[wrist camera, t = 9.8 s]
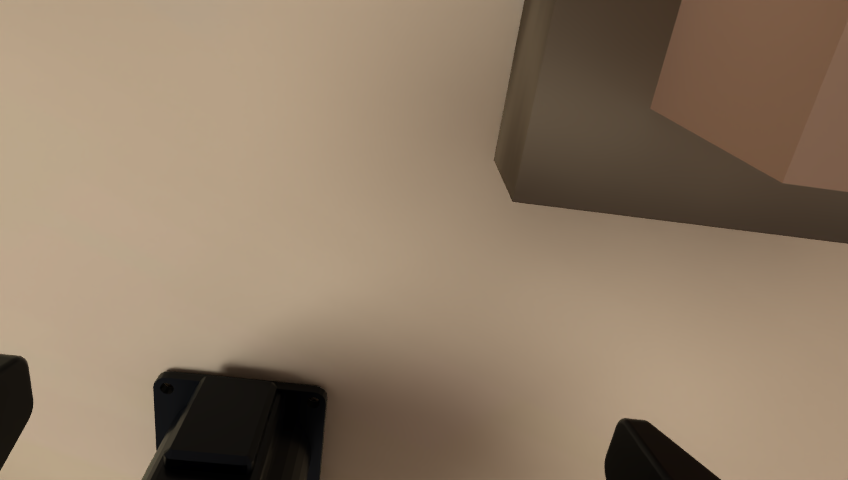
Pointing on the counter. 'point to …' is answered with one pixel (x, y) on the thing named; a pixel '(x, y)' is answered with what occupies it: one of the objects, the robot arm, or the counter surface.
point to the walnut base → (630, 130)
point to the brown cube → (763, 84)
